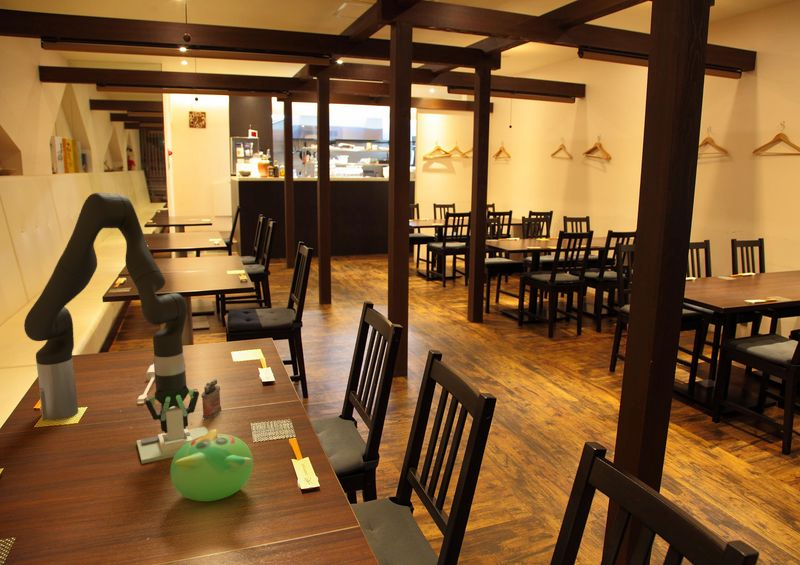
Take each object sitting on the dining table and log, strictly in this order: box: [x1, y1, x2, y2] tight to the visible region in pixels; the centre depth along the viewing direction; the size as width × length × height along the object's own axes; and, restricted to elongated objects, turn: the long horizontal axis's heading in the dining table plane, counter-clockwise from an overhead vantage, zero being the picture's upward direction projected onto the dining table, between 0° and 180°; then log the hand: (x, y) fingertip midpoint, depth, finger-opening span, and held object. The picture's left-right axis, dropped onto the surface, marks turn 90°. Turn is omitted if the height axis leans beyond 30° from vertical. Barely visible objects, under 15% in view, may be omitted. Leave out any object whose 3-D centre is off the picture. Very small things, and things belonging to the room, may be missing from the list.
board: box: [136, 426, 209, 465], centre depth 157 cm, size 18×12×3 cm, turn 119°
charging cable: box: [136, 362, 155, 405], centre depth 198 cm, size 5×32×3 cm, turn 12°
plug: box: [166, 406, 184, 441], centre depth 155 cm, size 4×4×8 cm
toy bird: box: [169, 428, 254, 502], centre depth 133 cm, size 18×17×15 cm
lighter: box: [200, 379, 222, 420], centre depth 176 cm, size 8×3×10 cm, turn 168°
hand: (174, 429), depth 156 cm, fingers closed on plug, 4 cm apart
